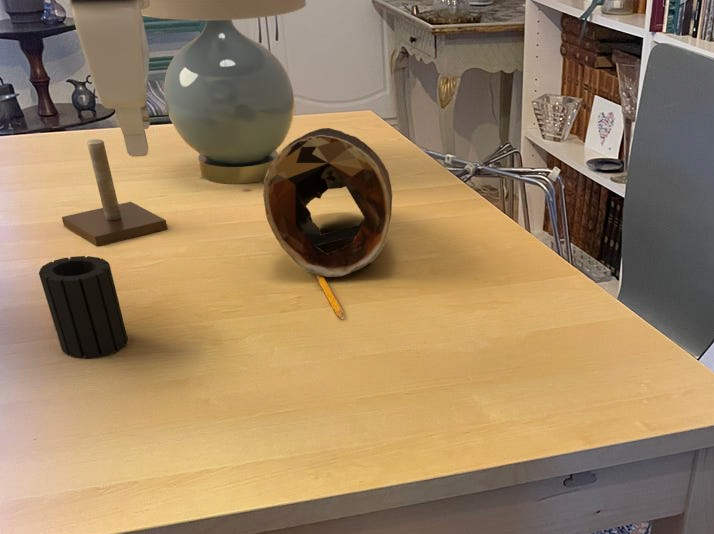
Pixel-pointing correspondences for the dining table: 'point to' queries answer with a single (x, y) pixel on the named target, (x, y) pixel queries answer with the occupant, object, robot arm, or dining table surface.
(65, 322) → the ribbed black tube
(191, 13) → the lamp
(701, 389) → the dining table surface
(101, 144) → the peg stand
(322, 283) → the pencil
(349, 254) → the clay pot
